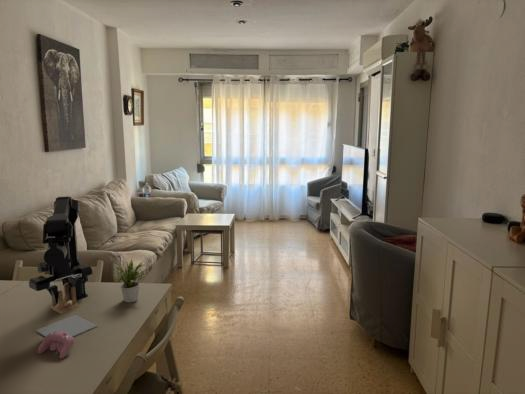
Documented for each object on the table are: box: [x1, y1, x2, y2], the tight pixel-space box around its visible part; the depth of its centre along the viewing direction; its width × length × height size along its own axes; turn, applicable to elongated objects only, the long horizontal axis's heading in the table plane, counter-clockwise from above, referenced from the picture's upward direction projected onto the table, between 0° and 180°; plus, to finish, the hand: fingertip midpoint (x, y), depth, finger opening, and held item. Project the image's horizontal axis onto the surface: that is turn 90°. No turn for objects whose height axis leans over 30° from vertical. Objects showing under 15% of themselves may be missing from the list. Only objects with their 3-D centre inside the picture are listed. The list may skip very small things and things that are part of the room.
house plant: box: [114, 258, 149, 303], centre depth 156 cm, size 14×14×16 cm
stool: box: [50, 283, 79, 314], centre depth 133 cm, size 6×6×7 cm
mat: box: [35, 314, 98, 344], centre depth 135 cm, size 14×14×1 cm
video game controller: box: [37, 332, 75, 360], centre depth 121 cm, size 10×5×7 cm, turn 72°
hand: (64, 300), depth 133 cm, fingers closed on stool, 5 cm apart
